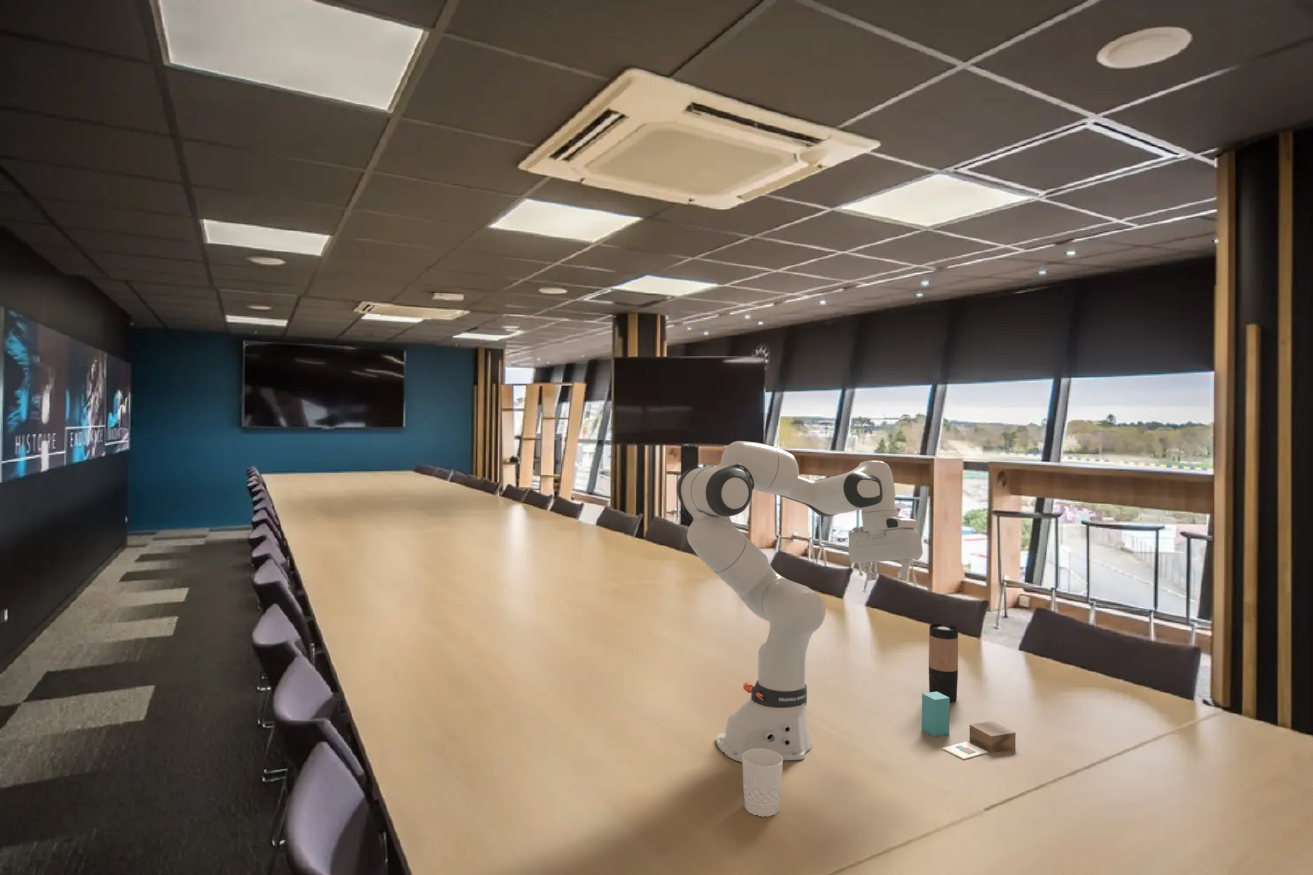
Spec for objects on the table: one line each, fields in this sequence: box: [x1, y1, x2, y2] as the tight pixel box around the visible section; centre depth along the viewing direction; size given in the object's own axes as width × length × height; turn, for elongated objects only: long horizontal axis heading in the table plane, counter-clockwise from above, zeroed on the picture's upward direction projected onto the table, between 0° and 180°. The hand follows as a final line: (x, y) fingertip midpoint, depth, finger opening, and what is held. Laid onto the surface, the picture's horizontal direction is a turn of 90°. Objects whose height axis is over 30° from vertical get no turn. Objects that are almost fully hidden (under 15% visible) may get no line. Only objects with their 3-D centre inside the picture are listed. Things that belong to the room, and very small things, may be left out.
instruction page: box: [942, 741, 989, 761], centre depth 164 cm, size 8×6×1 cm
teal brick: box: [921, 692, 951, 737], centre depth 175 cm, size 4×4×9 cm
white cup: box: [741, 749, 784, 818], centre depth 138 cm, size 8×8×10 cm
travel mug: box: [928, 622, 959, 703], centre depth 197 cm, size 8×8×20 cm
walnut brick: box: [969, 720, 1017, 753], centre depth 168 cm, size 7×7×4 cm
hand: (886, 579), depth 175 cm, fingers open, 8 cm apart
